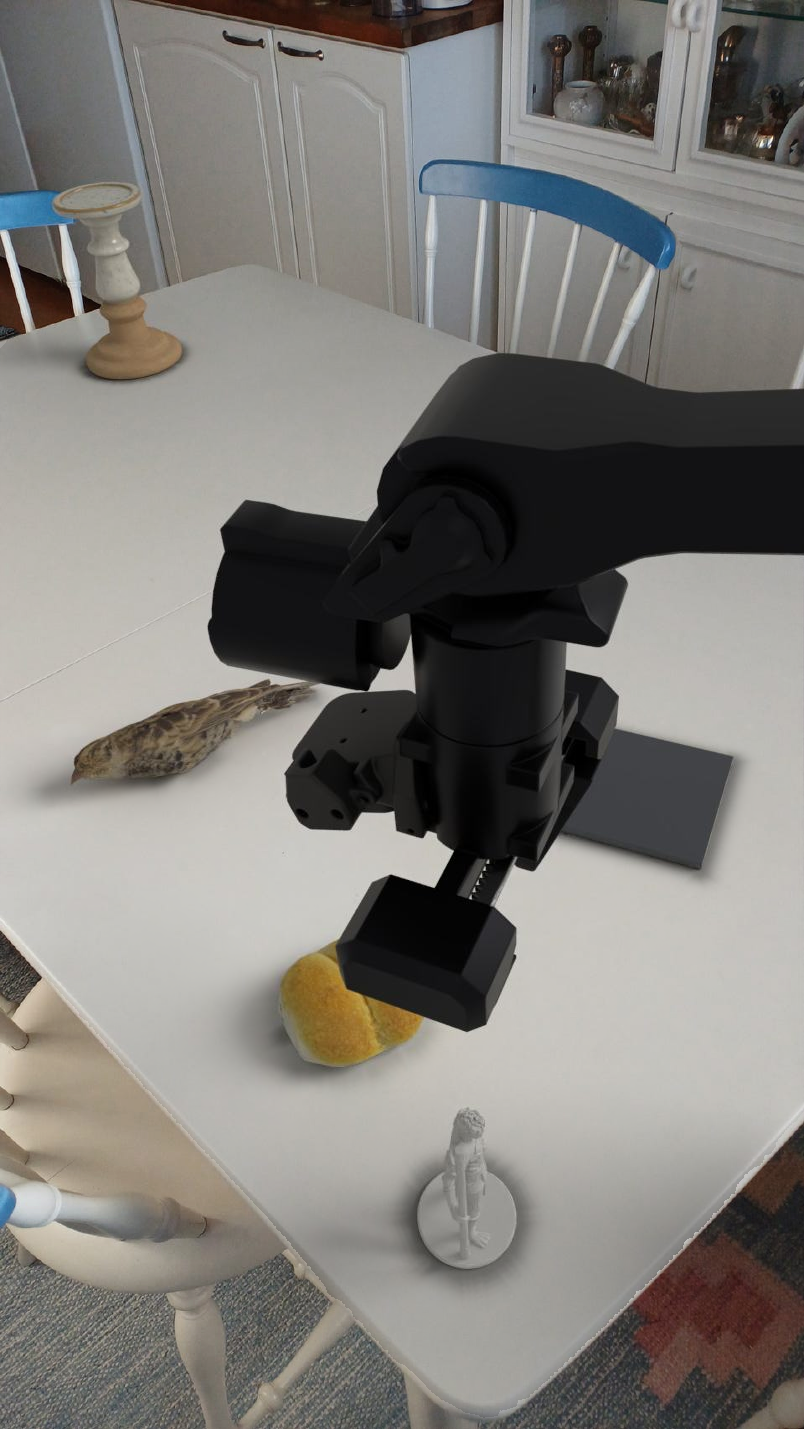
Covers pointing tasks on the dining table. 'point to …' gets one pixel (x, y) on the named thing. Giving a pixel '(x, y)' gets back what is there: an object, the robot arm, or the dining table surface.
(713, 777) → the slate tile
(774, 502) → the robot arm
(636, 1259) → the dining table surface
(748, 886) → the dining table surface
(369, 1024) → the bread roll
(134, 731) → the bird model
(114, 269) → the candle holder
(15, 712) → the dining table surface
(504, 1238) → the figurine
